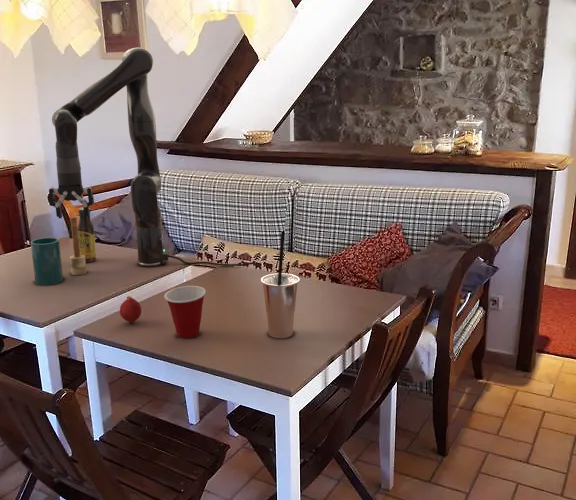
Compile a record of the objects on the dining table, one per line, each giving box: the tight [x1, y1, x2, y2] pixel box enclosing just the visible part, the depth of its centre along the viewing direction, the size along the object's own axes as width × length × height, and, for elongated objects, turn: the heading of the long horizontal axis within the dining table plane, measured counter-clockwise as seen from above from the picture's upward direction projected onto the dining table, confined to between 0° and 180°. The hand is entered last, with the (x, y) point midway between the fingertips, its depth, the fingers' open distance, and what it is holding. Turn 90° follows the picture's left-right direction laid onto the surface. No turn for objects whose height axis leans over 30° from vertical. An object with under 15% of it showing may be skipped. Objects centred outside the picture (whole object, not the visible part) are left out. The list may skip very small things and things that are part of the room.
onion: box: [119, 295, 142, 324], centre depth 178 cm, size 6×6×8 cm
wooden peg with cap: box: [69, 216, 87, 276], centre depth 221 cm, size 5×5×20 cm
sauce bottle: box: [77, 207, 97, 263], centre depth 235 cm, size 7×6×20 cm
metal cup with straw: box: [260, 230, 301, 339], centre depth 166 cm, size 11×11×30 cm
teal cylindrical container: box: [30, 237, 64, 286], centre depth 213 cm, size 9×9×14 cm
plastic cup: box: [163, 285, 206, 339], centre depth 169 cm, size 11×11×12 cm
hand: (73, 217), depth 218 cm, fingers open, 8 cm apart
